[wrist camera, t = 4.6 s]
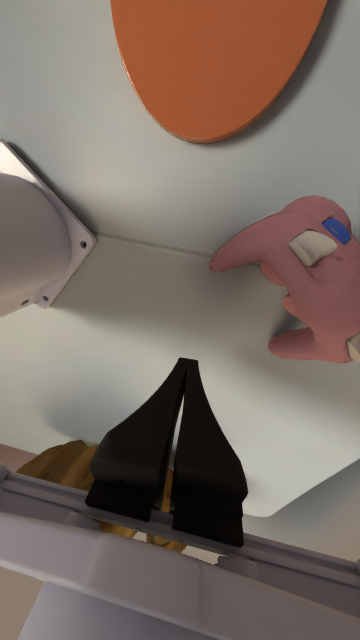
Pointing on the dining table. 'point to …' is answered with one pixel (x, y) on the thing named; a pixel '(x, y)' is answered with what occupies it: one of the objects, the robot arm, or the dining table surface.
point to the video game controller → (307, 276)
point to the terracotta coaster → (212, 59)
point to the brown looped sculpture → (87, 482)
